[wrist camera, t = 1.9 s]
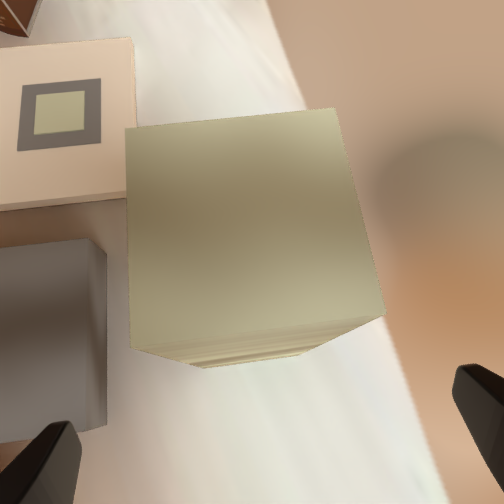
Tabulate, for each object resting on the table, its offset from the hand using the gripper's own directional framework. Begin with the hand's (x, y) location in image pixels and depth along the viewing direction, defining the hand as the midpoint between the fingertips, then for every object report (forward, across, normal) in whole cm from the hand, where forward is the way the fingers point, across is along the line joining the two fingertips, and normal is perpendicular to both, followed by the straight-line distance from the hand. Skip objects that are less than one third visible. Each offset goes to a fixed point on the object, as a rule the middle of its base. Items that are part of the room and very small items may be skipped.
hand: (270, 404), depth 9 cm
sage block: (+10, 0, +5) cm, 12 cm away
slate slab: (+11, +12, +5) cm, 17 cm away
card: (+20, +10, -5) cm, 23 cm away
